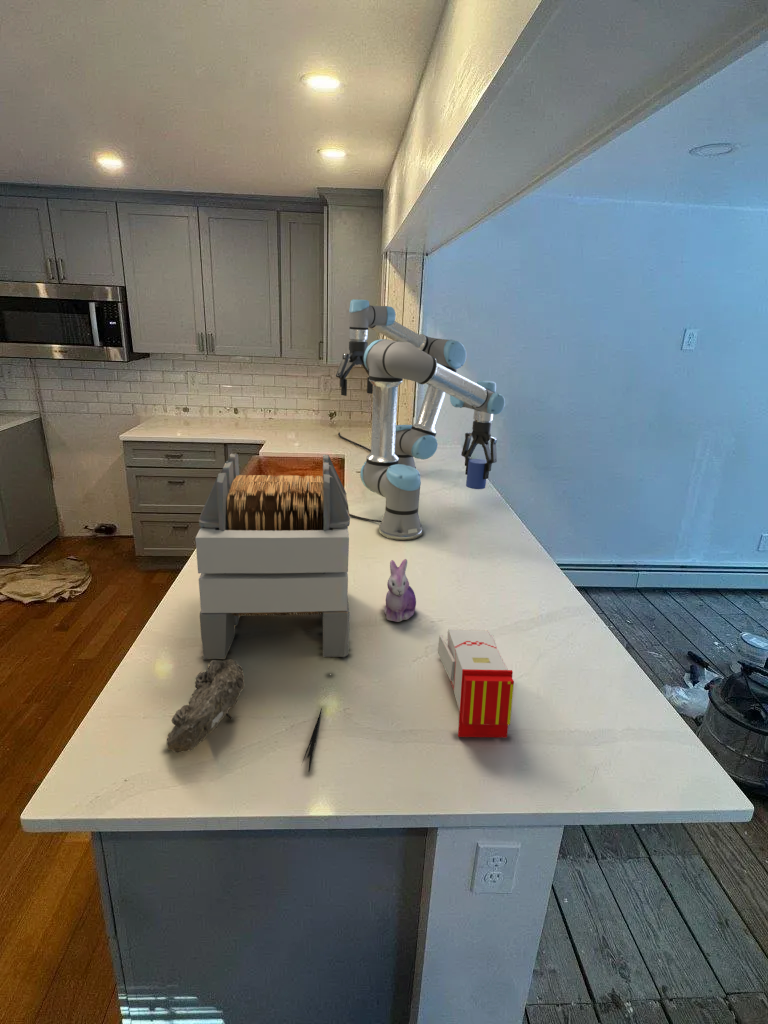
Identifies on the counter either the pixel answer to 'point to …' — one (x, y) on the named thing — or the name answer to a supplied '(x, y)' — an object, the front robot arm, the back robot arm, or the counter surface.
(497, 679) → the toy
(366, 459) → the front robot arm
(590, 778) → the counter surface
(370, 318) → the back robot arm
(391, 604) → the figurine
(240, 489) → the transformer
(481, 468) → the cylinder
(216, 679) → the fossil
